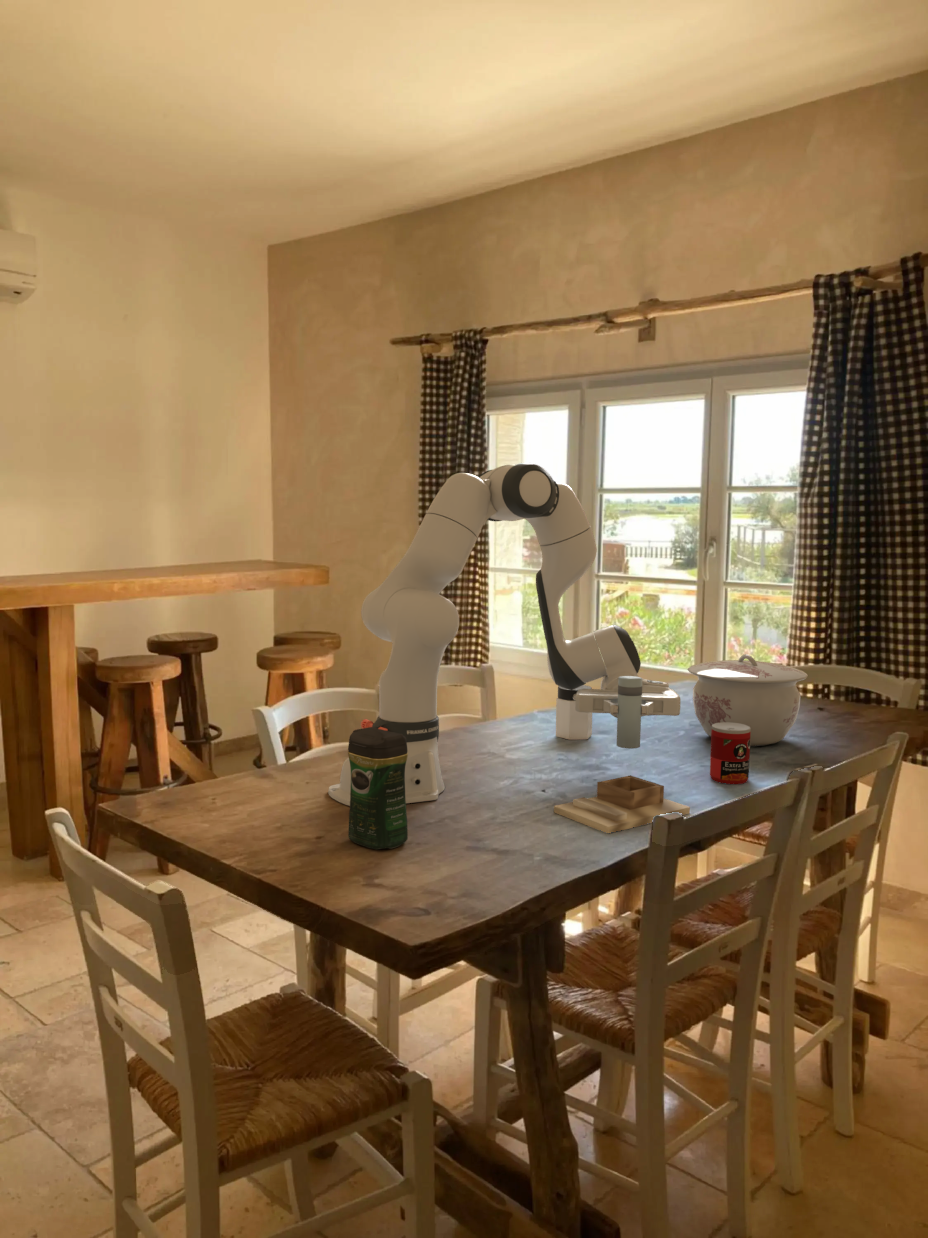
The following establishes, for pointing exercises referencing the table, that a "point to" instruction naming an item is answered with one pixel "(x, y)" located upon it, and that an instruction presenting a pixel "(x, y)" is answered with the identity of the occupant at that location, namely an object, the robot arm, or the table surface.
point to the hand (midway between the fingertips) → (629, 710)
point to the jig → (621, 805)
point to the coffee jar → (377, 788)
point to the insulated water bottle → (629, 712)
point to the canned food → (730, 752)
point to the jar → (571, 716)
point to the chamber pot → (748, 696)
